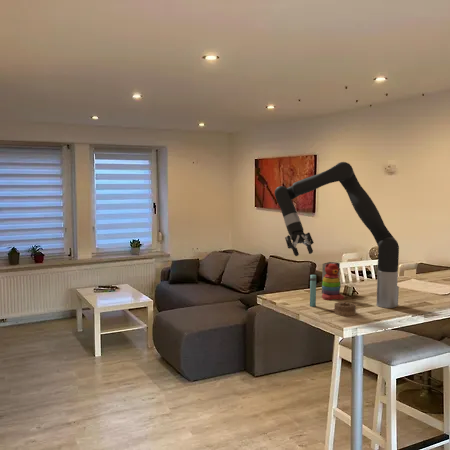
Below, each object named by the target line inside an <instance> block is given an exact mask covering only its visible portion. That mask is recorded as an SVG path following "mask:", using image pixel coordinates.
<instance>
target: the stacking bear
mask: <svg viewBox="0 0 450 450" xmlns="http://www.w3.org/2000/svg"><path fill="white" fill-rule="evenodd" d="M325 272H326V275H325V276H324V278H323V282H322V281H321V290H322V289H323V293H321V294H322V295H321V298H322V299H323V300H324V301H325V300H326V301H332V300H339V301H340V300H341V301H342V300H344V299H345V297H344V295H343V294H342V293H340V292H341V285H342V284H341V280H340V279H341V278H340V275H339V276H338V275H337V274H338V272H339V268H338V266H337V264H336V263H335V264H326V267H325ZM339 273H340V272H339Z"/></svg>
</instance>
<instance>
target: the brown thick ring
mask: <svg viewBox="0 0 450 450" xmlns="http://www.w3.org/2000/svg"><path fill="white" fill-rule="evenodd" d="M356 307H357V305H356V304H355V303H352V302H346V301H339V302H336V303H334V314H335V315H337V316H342V317H353V316H355V315H356V309H357V308H356Z"/></svg>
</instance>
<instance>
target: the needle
mask: <svg viewBox="0 0 450 450" xmlns="http://www.w3.org/2000/svg"><path fill="white" fill-rule="evenodd" d="M309 277H310V278H309V280H310V281H309V285H310V286H309V291H310V292H309V307H312V308H314V307H316V305H317V274H310V275H309Z"/></svg>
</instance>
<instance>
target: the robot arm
mask: <svg viewBox="0 0 450 450" xmlns="http://www.w3.org/2000/svg"><path fill="white" fill-rule="evenodd" d="M337 182H339V183H340V184H341V186H342V187H343V189H344V190H345V191H346V194H347V196H348V198H349V200H350V201H349V202H351V206H352V207H353V209H354V211H355V213H356V214H357V215H358V216H357V217H358V218H359V219H360V220H361V222H362V223H363V225H364V226H365V227H366V228H367V229H368V230H369V231H370V233H371V235H372V236H373V238H374V240H375V242H376V245H377V247H378V248H377V249H378V250H377V275H376V276H377V278H376V279H377V280H376V284H377V285H376V306H377V307H380V308H386V309H391V308H393V309H394V308H396V307H397V306H399V288H400V287H399V285H398V280H399V279H398V274H399V254H400V246H399V243H398V240H397V239H396V238H395V237H394V236H393V235H392V233H391V232H390V231H389V230H388V228H387V227H386V224H385V222H384V220H383V218H382V215H381V214H380V212H379V210H378V208H377V206H376V204H375V203H374V201H373V200H372V198H371V197H370V196H369V194H368V192H366V190H365V189H364V187H362V185H361V184H360V181H358V178H357V176H356V174H355V171H354V168H353V167H352V165H351V164H350V163H349V162H346V161H341V162H338V163H336V164H335V165H333V166H331V167H330V168H328V169H326V170H325V171H324V170H323V172H320V173H317V174H313V175H311V176H307V177H305V178H303V179H300V180H297V181H295V182H293V183H292V185H290V186H289V187H285V186H284V185H279V186H277V187H276V188H275V189H274V196H275V200H276V202H277V204H278V206H279V208H280V210H281V214H282V217H283V221H284V224H285V227H286V229H287V230H286V231H287V233H288V234H287V236H285V237H284V239H285V241H286V242H285V243H286V246H287V249H290V250H292V252H293V255H294V256H295V257H298V256H299V255H300V254H299V253H300V252H299V250H298V247H297V245H299V244H303V245H305V246H306V249H307V252H308V254H309V255H311V254H312V253H314V252H313V251H314V250H313V247H312V245H313V244H315V243H314V240H313V238H312V235H311V233H310V232H307V233H305V232H304V227H303V224H302V222H301V219H300V216H299V215H298V212H297V208H296V207H295V204H294V203H293V202H292V200H295V199H296V198H297V197H299V196H302V195H305V194H307V193H310V192H313V191H315V190H317V189H319V188H321V187H324V186H326V185H329V184H332V183H337Z"/></svg>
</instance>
